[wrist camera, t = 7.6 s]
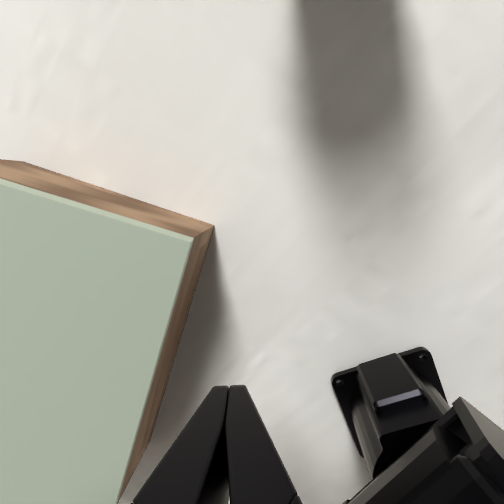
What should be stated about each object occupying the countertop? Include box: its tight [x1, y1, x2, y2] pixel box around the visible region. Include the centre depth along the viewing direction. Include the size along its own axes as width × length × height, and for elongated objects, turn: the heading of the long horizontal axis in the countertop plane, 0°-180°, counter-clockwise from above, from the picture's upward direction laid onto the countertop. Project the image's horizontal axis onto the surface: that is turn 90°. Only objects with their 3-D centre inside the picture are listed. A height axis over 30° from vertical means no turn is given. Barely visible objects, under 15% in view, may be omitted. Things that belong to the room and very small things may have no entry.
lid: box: [0, 178, 194, 504], centre depth 16 cm, size 13×17×1 cm
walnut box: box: [0, 159, 214, 504], centre depth 20 cm, size 13×17×6 cm
